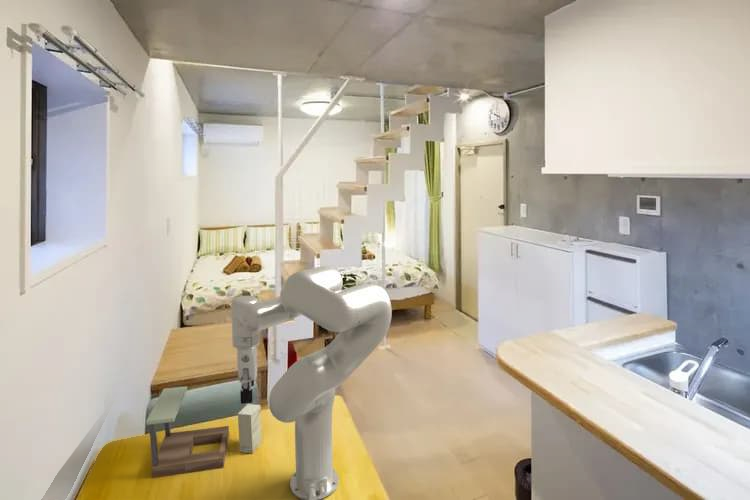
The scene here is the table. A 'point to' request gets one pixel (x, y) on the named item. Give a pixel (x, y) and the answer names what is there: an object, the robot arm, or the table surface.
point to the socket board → (182, 440)
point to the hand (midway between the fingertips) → (247, 394)
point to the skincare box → (250, 428)
